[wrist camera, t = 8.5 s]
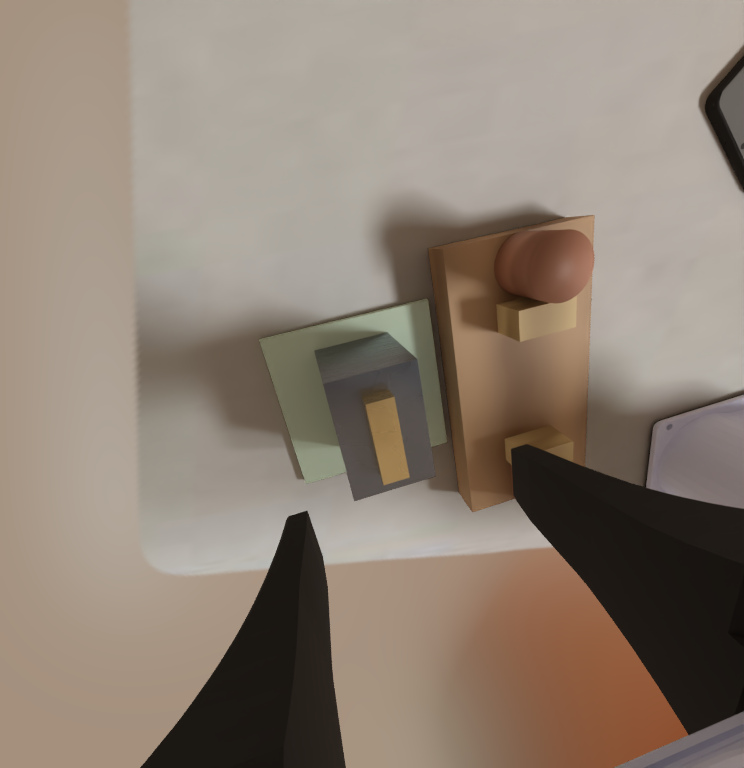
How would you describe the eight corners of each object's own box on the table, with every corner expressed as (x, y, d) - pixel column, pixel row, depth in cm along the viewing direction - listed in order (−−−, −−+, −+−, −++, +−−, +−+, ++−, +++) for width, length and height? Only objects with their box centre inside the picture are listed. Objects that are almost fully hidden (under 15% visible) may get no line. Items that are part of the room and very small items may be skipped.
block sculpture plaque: (566, 217, 20) (648, 210, 16) (564, 459, 26) (621, 505, 22) (428, 248, 19) (472, 250, 15) (458, 492, 26) (497, 547, 21)
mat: (425, 298, 20) (428, 299, 20) (444, 439, 24) (447, 442, 23) (259, 338, 19) (259, 340, 19) (305, 480, 23) (305, 484, 22)
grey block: (387, 331, 20) (424, 364, 15) (404, 428, 22) (442, 486, 17) (314, 350, 19) (324, 391, 14) (339, 446, 22) (357, 512, 16)
